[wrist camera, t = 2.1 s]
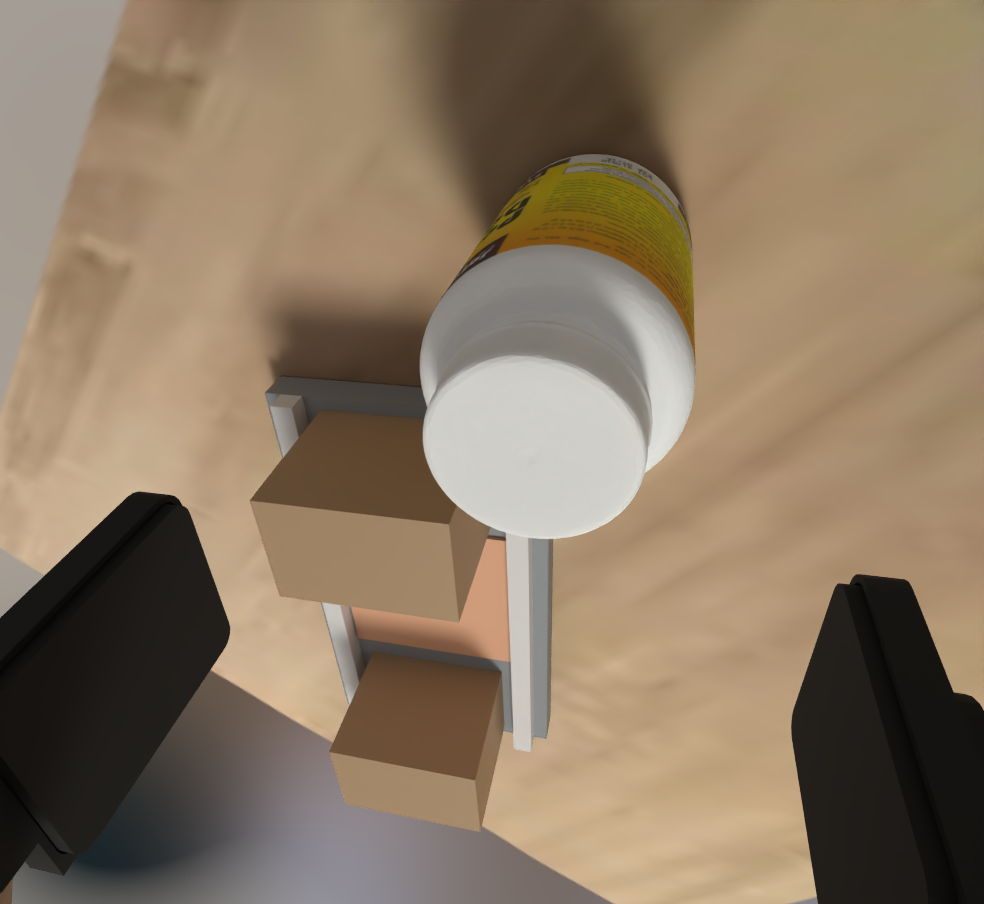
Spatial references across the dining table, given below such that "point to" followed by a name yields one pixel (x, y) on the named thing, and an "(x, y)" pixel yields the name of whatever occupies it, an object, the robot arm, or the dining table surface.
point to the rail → (405, 600)
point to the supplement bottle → (563, 351)
